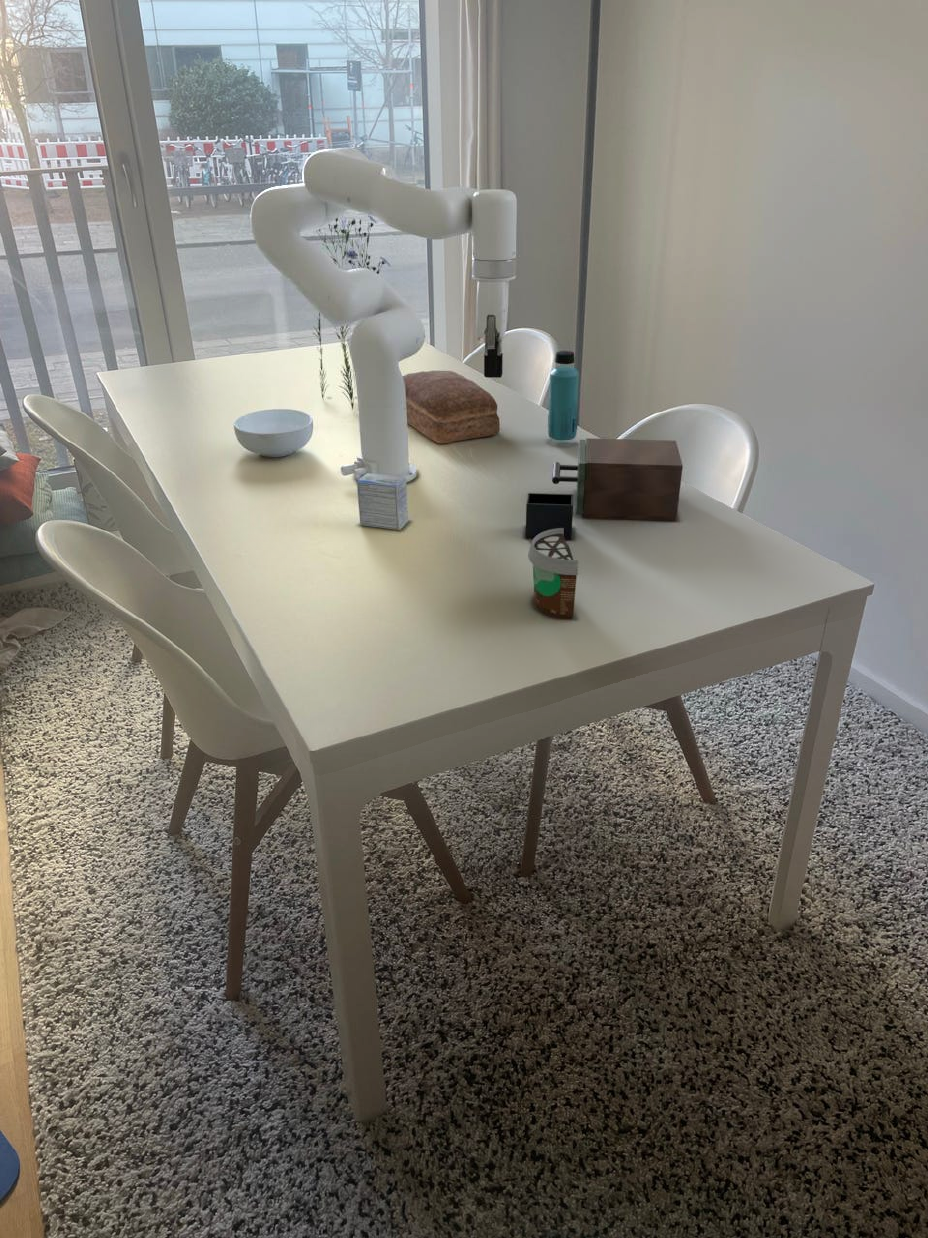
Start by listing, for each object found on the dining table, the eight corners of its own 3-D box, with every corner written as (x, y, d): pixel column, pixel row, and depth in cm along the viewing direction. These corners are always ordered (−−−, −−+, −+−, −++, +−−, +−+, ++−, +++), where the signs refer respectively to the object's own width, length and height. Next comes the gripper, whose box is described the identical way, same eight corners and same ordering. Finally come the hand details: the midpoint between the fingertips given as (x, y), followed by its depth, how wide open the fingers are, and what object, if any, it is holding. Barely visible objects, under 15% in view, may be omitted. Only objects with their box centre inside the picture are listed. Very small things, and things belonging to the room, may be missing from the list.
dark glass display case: (525, 538, 158) (526, 503, 155) (526, 526, 162) (527, 492, 159) (571, 540, 157) (573, 505, 154) (571, 528, 162) (573, 494, 158)
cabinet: (583, 518, 166) (586, 462, 160) (583, 490, 177) (586, 438, 172) (676, 521, 164) (682, 465, 159) (670, 493, 176) (675, 440, 170)
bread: (449, 403, 230) (448, 357, 224) (503, 436, 207) (504, 386, 201) (387, 412, 223) (384, 365, 218) (435, 447, 200) (434, 396, 195)
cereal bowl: (222, 459, 195) (217, 427, 192) (264, 435, 209) (261, 405, 205) (290, 468, 190) (286, 435, 186) (329, 444, 203) (326, 413, 199)
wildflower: (311, 393, 239) (293, 206, 217) (397, 389, 241) (388, 204, 219) (307, 418, 220) (287, 217, 197) (401, 414, 222) (392, 214, 199)
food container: (521, 586, 142) (522, 528, 137) (560, 584, 143) (562, 526, 138) (533, 625, 132) (535, 563, 127) (574, 623, 132) (578, 561, 127)
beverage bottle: (575, 447, 199) (579, 355, 189) (545, 446, 200) (548, 354, 190) (577, 438, 205) (582, 348, 195) (548, 436, 206) (551, 347, 196)
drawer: (550, 513, 166) (552, 462, 161) (552, 486, 177) (554, 438, 173) (670, 517, 164) (675, 466, 159) (664, 490, 175) (669, 441, 170)
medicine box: (409, 521, 165) (407, 476, 161) (399, 531, 161) (397, 485, 157) (369, 516, 167) (366, 472, 163) (359, 525, 163) (356, 480, 159)
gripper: (476, 262, 162) (476, 365, 171) (467, 276, 149) (468, 387, 158) (518, 262, 161) (516, 366, 170) (512, 276, 148) (511, 388, 157)
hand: (493, 376), depth 164 cm, fingers closed
